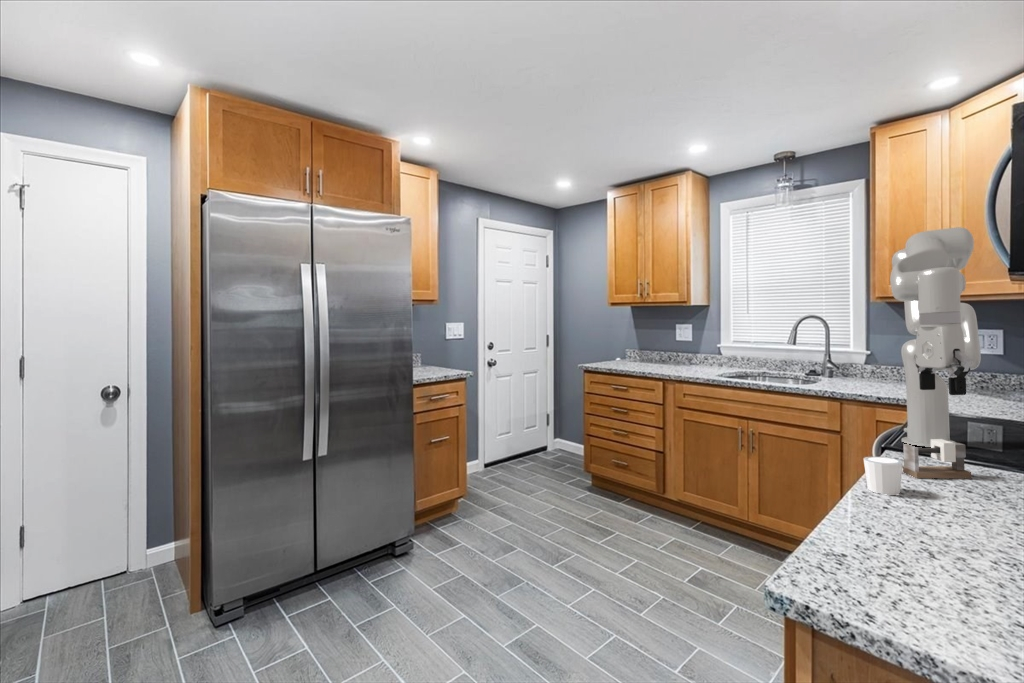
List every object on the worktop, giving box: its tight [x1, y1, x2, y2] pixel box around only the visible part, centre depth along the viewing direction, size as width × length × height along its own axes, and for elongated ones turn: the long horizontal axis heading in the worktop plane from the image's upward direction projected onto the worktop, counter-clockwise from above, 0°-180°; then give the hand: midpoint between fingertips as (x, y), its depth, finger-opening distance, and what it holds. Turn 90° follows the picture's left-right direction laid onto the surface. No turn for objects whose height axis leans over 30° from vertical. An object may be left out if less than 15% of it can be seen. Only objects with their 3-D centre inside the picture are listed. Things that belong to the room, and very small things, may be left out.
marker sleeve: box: [930, 439, 956, 463], centre depth 117 cm, size 4×2×4 cm, turn 172°
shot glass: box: [863, 456, 904, 496], centre depth 108 cm, size 7×7×7 cm
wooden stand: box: [902, 442, 972, 480], centre depth 118 cm, size 5×12×8 cm, turn 82°
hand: (942, 392), depth 117 cm, fingers open, 9 cm apart
